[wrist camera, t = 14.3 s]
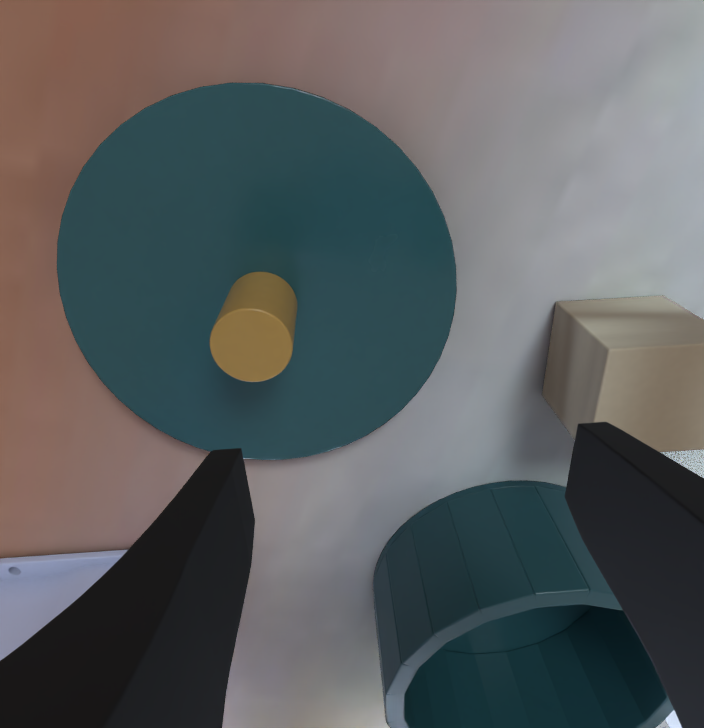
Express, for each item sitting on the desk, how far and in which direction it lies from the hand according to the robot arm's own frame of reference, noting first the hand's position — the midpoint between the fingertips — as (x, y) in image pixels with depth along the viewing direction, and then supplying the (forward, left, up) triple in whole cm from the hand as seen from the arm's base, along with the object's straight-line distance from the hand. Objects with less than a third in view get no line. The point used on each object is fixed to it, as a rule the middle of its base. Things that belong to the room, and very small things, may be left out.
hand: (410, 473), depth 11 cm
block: (+9, -2, -10) cm, 13 cm away
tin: (+6, -15, -10) cm, 19 cm away
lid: (-4, +1, -9) cm, 10 cm away
